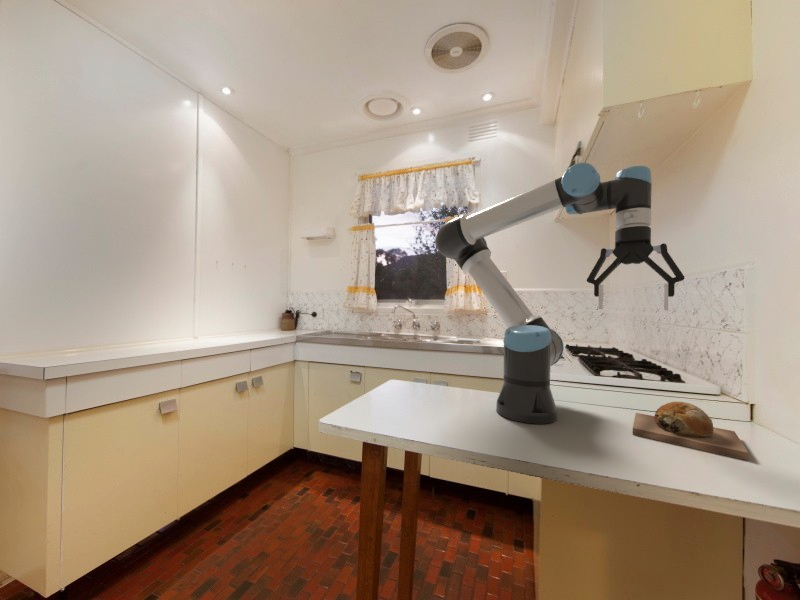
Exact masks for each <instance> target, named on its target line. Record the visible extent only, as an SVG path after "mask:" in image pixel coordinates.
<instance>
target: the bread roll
mask: <svg viewBox="0 0 800 600" xmlns="http://www.w3.org/2000/svg"><path fill="white" fill-rule="evenodd" d="M653 416H654V420H655V423H656V424H657V425H658V426H659V427H661V428H662V429H665V430H667V431H670V432H673V433H677V434H681V435H686V436H691V437H709V436H711V435H713V432H714V431H713V427H714V423H713V421H712V419H711V418H710V416H709V415H708V414H707V413H706V412H705V411H704V410H703V409H702V408H700V407H698V406H697V405H694V404H693V403H690V402H684V401H671V402H667V403H666V404H663V405H661V406H660V407H658V408H657V410H655V413H654V415H653Z"/></svg>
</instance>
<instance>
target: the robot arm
mask: <svg viewBox="0 0 800 600" xmlns="http://www.w3.org/2000/svg"><path fill="white" fill-rule="evenodd" d="M652 183H653V182H652V171H651V169H650V168H649V167H648V166H646V165H633V166H629V167H626V168H623V169H621V170H619V171H618V172H616V174H615V178H614V179H612V180H608V181H604V182H602V181H601V176H600V173H599V172H598V170H597V169H596V167H595V166H594V165H592V164H591V163H587V162H578V163H574V164H573V165H571V166H569V168H567V169H566V171H564V173H563V175H562V176H560V177H558V178H555V179H553V180H551V181H549V182H546V183H544V184H542V185H539V186H537V187H535V188H532V189H530V190H528V191H525V192H522V193H521V194H517V195H516V196H513V197H511V198H509V199H506V200H504V201H501V202H499V203H497V204H494V205H492V206H490V207H487V208H485V209H483V210H480V211H478V212H475V213H473V214H470V215H466V214H462V215H459V216H458V217H455V218H453V219H451V220H449V221H447V222H446V223H444V224H443V225H442V226H441V227H440V228H439V230H437V233H436V237H435V246H436V248H437V250H438V252H439V253H440V254H441V255H442V257H445V258H448V259H452V260H453V261H455V262H456V264H457V265H458V267H459V268H460V270H461V271H462V273H467V274H468V273H469V275H470V276H471V277H472V279H473V281H474V282H475V283H476V285H477V286H478V288H479V289H480V290H481V292H482V293H483V295H484V296H485V297H486V298H487V300H488V302H489V303H490V305H491V306H492V307H493V309H494V310H495V312H496V313H497V314H498V316H499V317H500V319H501V320H502V322H503V323H504V324H505V326H506V327H507V328H506V329H505V331H504V337H503V382H502V386H501V389H500V392H499V394H498V397H497V399H496V405H495V406H496V407H495V408H496V409H495V410H496V413H498V415H500V416H501V417H504V418H506V419H509V420H513V421H516V422H520V423H525V424H536V425H539V424H540V425H542V424H551V423H555V422H556V421H558V409H557V405H556V403H555V399H554V397H553V393H552V390H551V367H552V366H553V365H556V364H557V363H558V362H559V360H561V357H562V356H563V353H564V348H565V347H564V341H563V339H562V337H561V335H559V333H557V331H555V330H553V329H552V328H551V327H550V326H549V325H548V323H546V321H545V320H544V319H543V317H542V316H540V315H534V314H533V312H532V311H531V310H530V308H529V307H528V306H527V305H526V303H525V302H524V301H523V300H522V297H521V296H519V294H518V292H517V291H516V289H514V288H513V286H512V285H511V283H510V282H509V281H508V279H507V278H506V277H505V276H504V275H503V273H502V271H500V269H499V268H498V266H497V265H496V264H495V262H494V260H492V258H491V256H492V251H491V249H490V248H489V247H488V244H487V240H486V238H485V237H488V236H491V235H494V234H496V233H498V232H502V231H504V230H506V229H509V228H512V227H514V226H517V225H520V224H523V223H525V222H528V221H531V220H533V219H535V218H539V217H542V216H544V215H546V214H549V213H552V212H554V211H558V210H559V209H562V208H564V209H565V212H566V213H567V214H568V215H582V214H587V213H588V214H589V213H593V212H601V211H602V212H603V211H607V210H608V211H609V210H614V209H615V215H614V216H615V221H614V224H615V225H614V227H615V229H616V231H614V233H615V234H614V248H612V249H610V248H604V247H603V248H601V250H600V255H599V258H598V260H597V261H596V263H595V265H594V267H593V268H592V269H591V271H590V273H589V275H588V277H587V279H586V282H587V283H589V284H592V285H594V286H593V287H594V288H593V291H594V292H593V295H594V297H597V298H598V309H601V310H603V309H604V284H602V283H603V282H604V281H605V280H606V279H607V278H608V277H609V276H610V275H611V274H612V272H614V271H615V270H616V269H617V268H618V267H619V266H620V265H621V264H623V265H624V266H625V265H630V264H631V265H632V264H635V265H639V264H640V265H641V264H642V263H645V264H646V265H647V266H649V267H650V268H651V269H652V270H653V271H654V272H656V273H657V275H659V277H661V278H662V279H663V280H664V281H665V282H666V283H664V284H663V311H669V297H670V298H673V297H674V296H675V286H676V285H675V284H676V283H679V282H682V281H684V280H685V276H684V274H683V273H682V271H681V269H680V268H679V266H678V265H677V264H676V262H675V261H674V259H673V257H672V256H671V255H670V253H669V252H668V251H669V250H668V246H667V244H666V243H661V244H659V245H652V229H651V227H650V226H651V225H652ZM653 251H655V252H656V254H658V255H659V254H660V255H661V256H662V259H663V260H664V261H665V264H667V266H668V267H669V269H670V270H671V272H672V273H673V275H674V277H672V276H671V275H670V274H669V273H668V272H667V271H666V270H664V269H663V268H662V266H661V267H660V265H659V264H657V263H656V262H655V261H654V260H653V259H652V258H650V257H649V256H650V255H651V254H652V252H653ZM612 254H613V256H615V257H616V258H615V259H614V260H613V262H612V263H610V264H609V266H607V268H606V269H605V270H604V271H603V272H602V273H601V274H600V275H599V276H598V277H597V275H598V274H599V271H600V270H601V268H602V266H603V265H604V263H605V261H606V260H607V258H610V256H611V255H612ZM596 277H597V278H596Z"/></svg>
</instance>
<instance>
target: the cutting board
mask: <svg viewBox="0 0 800 600" xmlns="http://www.w3.org/2000/svg"><path fill="white" fill-rule="evenodd" d="M634 415H635V416H634V420H633V424H632V435H633V436H639V437H642V438H647V439H652V440H656V441H661V442H665V443H669V444H674V445H679V446H683V447H688V448H692V449H696V450H700V451H705V452H709V453H714V454H718V455H723V456H727V457H732V458H736V459H741V460H744V461H749V452H748V450H747V449H746V448H747V447H745V445H744V443H743V442H742V440H741V438H739V436H738V434H737V433H736V431H735V430H730V429H725V428H719V427H715V426H713V431H714V432H713V435H711V436H709V437H691V436H686V435H681V434H677V433H673V432H670V431H667V430H665V429H662V428H661V427H659V426H658V425H657V424H656V423H655V420H654V416H655V415H650V414H646V413H644V414H643V413H641V412H635V414H634Z"/></svg>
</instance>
